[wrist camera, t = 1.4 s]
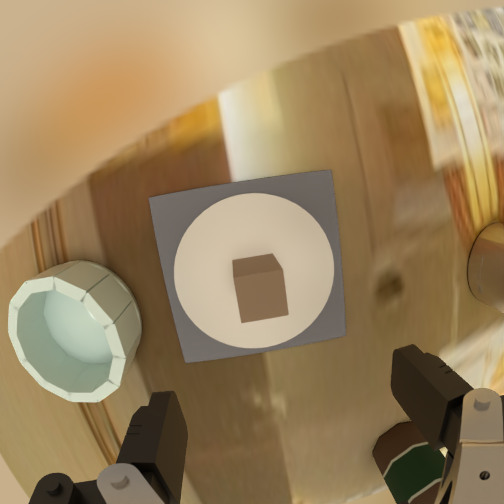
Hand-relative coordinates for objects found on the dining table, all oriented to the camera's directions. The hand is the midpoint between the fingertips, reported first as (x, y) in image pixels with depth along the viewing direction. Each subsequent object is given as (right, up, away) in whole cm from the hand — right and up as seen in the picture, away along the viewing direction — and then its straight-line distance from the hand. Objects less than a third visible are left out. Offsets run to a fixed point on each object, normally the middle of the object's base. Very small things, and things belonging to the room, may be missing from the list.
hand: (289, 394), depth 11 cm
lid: (-1, +3, +16) cm, 17 cm away
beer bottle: (+18, -19, +23) cm, 35 cm away
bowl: (-17, -1, +16) cm, 23 cm away
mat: (-1, +3, +17) cm, 17 cm away
